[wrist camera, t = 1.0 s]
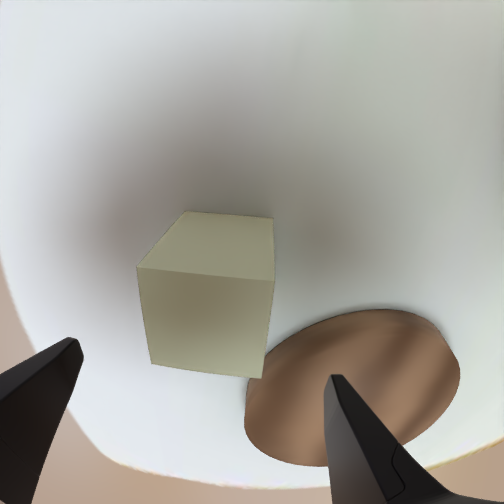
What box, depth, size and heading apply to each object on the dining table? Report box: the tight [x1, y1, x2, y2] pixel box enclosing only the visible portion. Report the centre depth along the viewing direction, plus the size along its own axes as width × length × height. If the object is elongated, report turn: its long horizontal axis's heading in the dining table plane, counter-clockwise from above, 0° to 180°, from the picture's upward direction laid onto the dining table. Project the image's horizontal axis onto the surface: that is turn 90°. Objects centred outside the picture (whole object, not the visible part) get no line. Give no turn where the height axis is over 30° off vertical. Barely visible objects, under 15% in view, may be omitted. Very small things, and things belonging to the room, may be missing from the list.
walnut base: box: [244, 309, 460, 467], centre depth 21 cm, size 18×18×3 cm
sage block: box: [136, 211, 275, 379], centre depth 15 cm, size 5×5×7 cm
